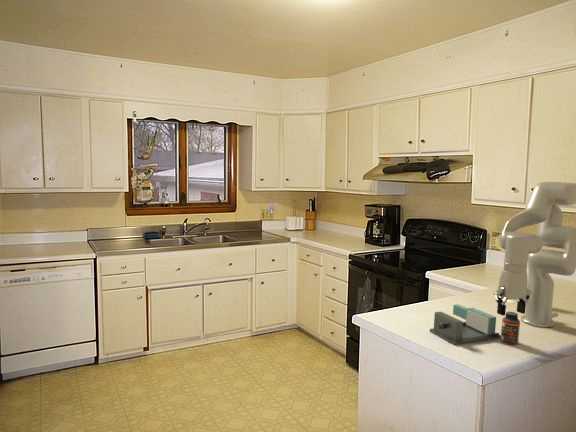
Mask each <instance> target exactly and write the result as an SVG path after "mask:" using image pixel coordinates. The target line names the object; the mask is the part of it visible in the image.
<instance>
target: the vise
mask: <svg viewBox="0 0 576 432" xmlns="http://www.w3.org/2000/svg"><path fill="white" fill-rule="evenodd" d="M433 316H434V320H433V328H430V329H429V333H432V334H433V335H435V336H437V337H439V338H440V339H442V340H443V341H445V342H448V343H449V344H452V345H453V346H461V345H467V344H472V343H473V344H474V343H480V342H486V341H493V340H499V339H500V340H501V334H500V333H499V332H495V333H493V334H484V333H482V332H480V331H478V330H476V329H473V328H471V327H469V326H467V325H466V321H463V320H460V319H458V318H455V317H454V316H451V315H450V314H447V313H445V312H443V311H435V312H434V315H433Z"/></svg>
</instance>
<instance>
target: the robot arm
mask: <svg viewBox="0 0 576 432" xmlns="http://www.w3.org/2000/svg"><path fill="white" fill-rule="evenodd" d="M573 205H574V206H575V205H576V182H565V181H564V182H563V181H543V182H539V183H537V184H536V185H535V186H534V187H533V189H532V191H531V193H530V197H529V199H528V200H527V203H526V206H525V209H524V210H522V211H521V212H518V213H516V214H515V215H513V216H512V217H511V218H510V219H508V220H507V221H506V222H505V225H504V227H503V230H502V231H501V234H500V237H499V246H500V247H501V249H503V250H504V262H503V270H502V271H501V273H500V276H499V280H498V285H497V287H498V288H497V290H495V291H494V292H493V296H494V299H495V301H496V303H497V307H496V314H498V315H500V316H504V317H506V312H507V304H506V303H508V302H507V300H512V299H516V300H518V302H517V303H516V305H517V306H516V313H520V314H523V315H521V317H520V321H521V322H523V323H525V324H527V325H530V326H534V327H540V328H553V327H555V326H556V322H555V321H554V319H553V318H558V317H559V313H558V312H553V301H554V291H555V290H554V289H555V281H554V279H553V277H552V276H551V275H550V274H554V275H559V276H566V277H569V276H572V275H574V274H575V272H576V227H575V226H570V225H563V220H564V213H563V211H562V209H561V207H559V206H573ZM533 225H534V226H535V225H538V226H537V230H536V234H535V233H528V232H520V231H518V230H520V229H522V228H526V227H530V226H533ZM543 247H548V248H555V249H561V250H562V249H563V250H564V251H561V250H560V251H559V250H554V249H546V248H543ZM527 270H528V273H527Z"/></svg>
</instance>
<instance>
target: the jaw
mask: <svg viewBox="0 0 576 432" xmlns="http://www.w3.org/2000/svg"><path fill="white" fill-rule="evenodd" d="M452 314H453V316H454V315H455V317H456V316H457V317H459V318H461V319H462V320H465V322H466V325H467V326H469V327H471V328H473V329H476V330H478V331H480V332H482V333H484V334H493V333H496V327H497V317H496V316H495V315H492V314H489V313H487V312H485V311H482V310H480V309H477V308H475V307H466V306H464V305H460V304H458V303H457V304H453V308H452Z"/></svg>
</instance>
